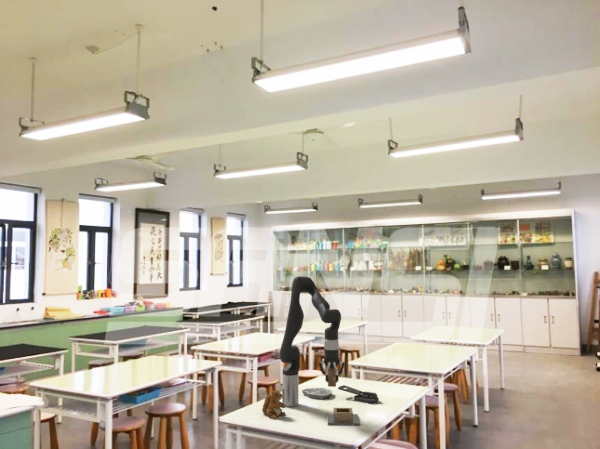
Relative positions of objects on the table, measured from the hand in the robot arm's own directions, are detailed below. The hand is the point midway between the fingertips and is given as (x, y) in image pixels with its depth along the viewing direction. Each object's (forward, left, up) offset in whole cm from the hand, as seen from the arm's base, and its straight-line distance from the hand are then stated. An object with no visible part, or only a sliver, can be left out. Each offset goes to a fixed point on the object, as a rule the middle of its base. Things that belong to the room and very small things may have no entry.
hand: (332, 382), depth 245 cm
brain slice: (-7, +53, -20) cm, 57 cm away
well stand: (+5, +2, -20) cm, 20 cm away
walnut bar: (0, 0, -2) cm, 2 cm away
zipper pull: (+17, +43, -20) cm, 51 cm away
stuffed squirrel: (-32, +10, -20) cm, 39 cm away
